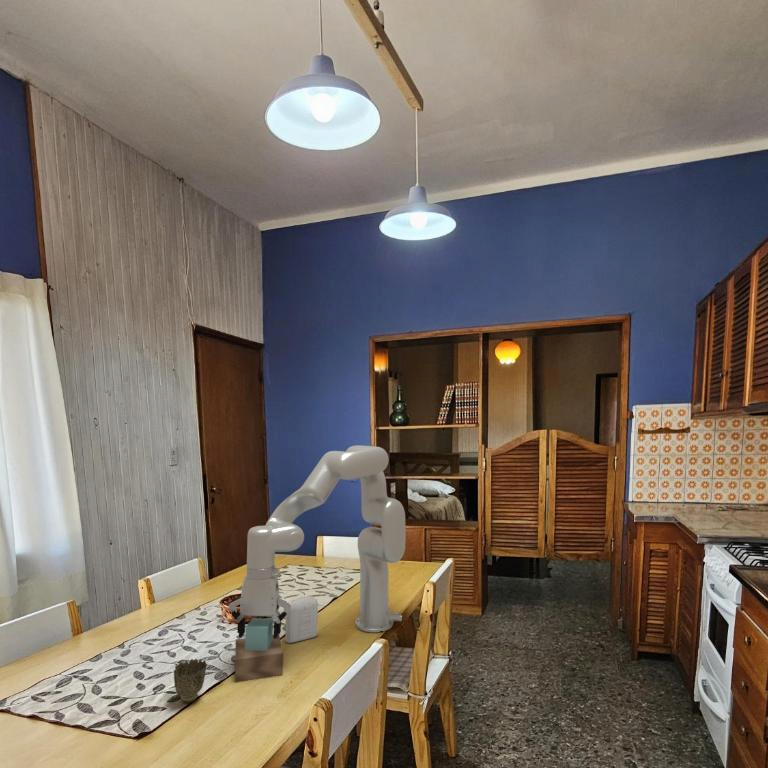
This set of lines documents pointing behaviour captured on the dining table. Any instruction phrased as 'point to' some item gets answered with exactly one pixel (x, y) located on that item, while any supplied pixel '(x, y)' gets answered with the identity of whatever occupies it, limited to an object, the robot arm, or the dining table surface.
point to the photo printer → (301, 619)
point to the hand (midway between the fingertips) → (259, 635)
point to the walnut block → (258, 661)
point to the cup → (189, 679)
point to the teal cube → (259, 634)
